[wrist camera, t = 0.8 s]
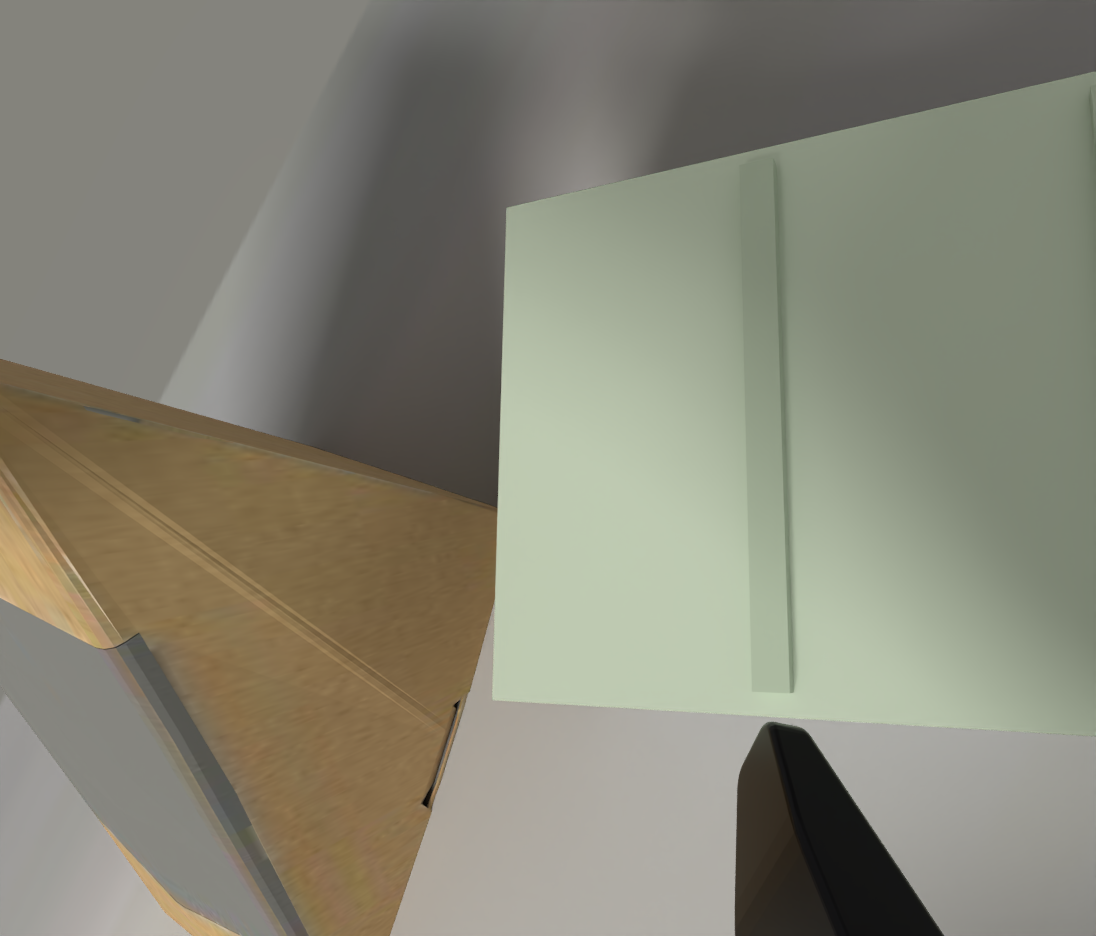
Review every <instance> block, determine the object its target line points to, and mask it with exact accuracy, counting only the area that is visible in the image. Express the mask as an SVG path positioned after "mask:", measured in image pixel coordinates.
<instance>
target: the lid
mask: <svg viewBox="0 0 1096 936" xmlns="http://www.w3.org/2000/svg"><path fill="white" fill-rule="evenodd" d="M492 700H498V701H515V702H531V703H548V704H565V705H581V706H598V707H614V708H631V709H648V710H664V711H681V712H698V713H714V714H731V715H747V716H764V717H781V718H797V719H814V720H831V721H847V722H864V723H880V724H897V725H914V726H930V727H947V728H964V729H980V730H997V731H1013V732H1030V733H1047V734H1063V735H1080V736H1096V71H1094V72H1090V73H1086V74H1081V75H1077V76H1073V77H1068V78H1064V79H1060V80H1055V81H1051V82H1047V83H1043V84H1038V85H1034V86H1030V87H1025V88H1021V89H1017V90H1012V91H1008V92H1004V93H999V94H995V95H991V96H986V97H982V98H978V99H973V100H969V101H965V102H960V103H956V104H952V105H947V106H943V107H939V108H935V109H930V110H926V111H922V112H917V113H913V114H909V115H904V116H900V117H896V118H891V119H887V120H883V121H878V122H874V123H870V124H865V125H861V126H857V127H852V128H848V129H844V130H839V131H835V132H831V133H827V134H822V135H818V136H814V137H809V138H805V139H801V140H796V141H792V142H788V143H783V144H779V145H775V146H770V147H766V148H762V149H757V150H753V151H749V152H744V153H740V154H736V155H731V156H727V157H723V158H719V159H714V160H710V161H706V162H701V163H697V164H693V165H688V166H684V167H680V168H675V169H671V170H667V171H662V172H658V173H654V174H649V175H645V176H641V177H636V178H632V179H628V180H623V181H619V182H615V183H611V184H606V185H602V186H598V187H593V188H589V189H585V190H580V191H576V192H572V193H567V194H563V195H559V196H554V197H550V198H546V199H541V200H537V201H533V202H528V203H524V204H520V205H515V206H511V207H507V208H506V241H505V275H504V309H503V343H502V378H501V412H500V446H499V480H498V515H497V549H496V583H495V617H494V652H493V686H492Z"/></svg>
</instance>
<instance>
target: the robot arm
mask: <svg viewBox="0 0 1096 936" xmlns="http://www.w3.org/2000/svg"><path fill="white" fill-rule="evenodd" d="M735 936H944V935H943V933H942V932H941V930H940V929H939V927H938V926H937V924H936V923H935V921H934V920H933V918H932V917H931V915H930V914H929V912H928V911H927V909H926V908H925V906H924V905H923V903H922V902H921V900H920V899H919V897H918V896H917V894H916V893H915V891H914V890H913V888H912V887H911V885H910V884H909V882H908V881H907V879H906V878H905V876H904V875H903V873H902V872H901V870H900V869H899V867H898V866H897V864H896V863H895V861H894V860H893V858H892V857H891V855H890V854H889V852H888V851H887V849H886V848H885V847H884V845H883V844H882V842H881V841H880V839H879V838H878V836H877V835H876V833H875V832H874V830H873V829H872V827H871V826H870V824H869V823H868V821H867V820H866V818H865V817H864V815H863V814H862V812H861V811H860V809H859V808H858V806H857V805H856V803H855V802H854V800H853V799H852V797H851V796H850V794H849V793H848V791H847V790H846V788H845V787H844V785H843V784H842V782H841V781H840V779H839V778H838V776H837V775H836V773H835V772H834V770H833V769H832V767H831V766H830V764H829V763H828V761H827V760H826V758H825V757H824V755H823V754H822V752H821V751H820V749H819V748H818V746H817V745H816V743H815V742H814V740H813V739H812V737H811V736H810V735H809V733H808V732H806V731H805V730H804V729H803V728H800V727H797V726H792V725H787V724H782V723H777V722H768V723H766V724H765V725H763V727H762V728H761V730H760V732H759V733H758V735H757V737H756V739H755V741H754V743H753V745H752V747H751V749H750V751H749V753H748V755H747V757H746V759H745V761H744V763H743V765H742V768H741V771H740V774H739V779H738V788H737V830H736V876H735Z"/></svg>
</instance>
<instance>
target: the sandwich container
mask: <svg viewBox="0 0 1096 936" xmlns="http://www.w3.org/2000/svg"><path fill="white" fill-rule="evenodd" d="M497 515H498V508H497V507H494V506H491V505H488V504H485V503H482V502H479V501H476V500H473V499H470V498H467V497H464V496H461V495H458V494H455V493H452V492H449V491H446V490H443V489H440V488H437V487H434V486H431V485H428V484H425V483H422V482H419V481H416V480H413V479H410V478H407V477H404V476H401V475H398V474H395V473H391V472H388V471H385V470H382V469H379V468H376V467H373V466H370V465H367V464H364V463H361V462H357V461H354V460H351V459H348V458H345V457H342V456H339V455H336V454H333V453H330V452H327V451H324V450H320V449H317V448H314V447H311V446H308V445H304V444H301V443H297V442H294V441H290V440H287V439H283V438H280V437H276V436H272V435H269V434H265V433H262V432H258V431H255V430H251V429H248V428H244V427H241V426H237V425H234V424H230V423H227V422H223V421H220V420H216V419H213V418H209V417H206V416H202V415H198V414H195V413H191V412H188V411H184V410H181V409H177V408H174V407H170V406H166V405H163V404H159V403H156V402H152V401H149V400H145V399H141V398H138V397H134V396H131V395H127V394H123V393H120V392H117V391H113V390H110V389H106V388H102V387H99V386H95V385H92V384H88V383H85V382H81V381H77V380H74V379H70V378H67V377H63V376H60V375H56V374H52V373H49V372H45V371H42V370H38V369H35V368H31V367H27V366H24V365H21V364H17V363H13V362H10V361H6V360H3V359H0V687H1V688H2V690H3V691H4V692H5V694H6V695H7V696H8V698H9V699H10V700H11V702H12V703H13V704H14V706H15V707H16V708H17V710H18V711H19V712H20V714H21V715H22V716H23V718H24V719H25V720H26V722H27V723H28V724H29V726H30V727H31V728H32V730H33V731H34V732H35V734H36V735H37V737H38V738H39V739H40V741H41V742H42V743H43V745H44V746H45V747H46V749H47V750H48V751H49V753H50V754H51V755H52V757H53V758H54V760H55V761H56V762H57V764H58V765H59V766H60V768H61V769H62V770H63V772H64V773H65V774H66V776H67V777H68V779H69V780H70V781H71V783H72V784H73V785H74V787H75V788H76V789H77V791H78V792H79V793H80V795H81V796H82V798H83V799H84V800H85V802H86V803H87V804H88V806H89V807H90V808H91V810H92V811H93V812H94V814H95V815H96V816H97V818H98V819H99V821H100V822H101V823H102V825H103V826H104V828H105V829H106V830H107V832H108V833H109V835H110V836H111V837H112V839H113V840H114V842H115V843H116V844H117V846H118V847H119V849H120V850H121V851H122V853H123V854H124V856H125V857H126V858H127V860H128V861H129V863H130V864H131V865H132V867H133V868H134V870H135V871H136V872H137V874H138V875H139V877H140V878H141V879H142V881H143V882H144V884H145V885H146V886H147V888H148V889H149V891H150V892H151V893H152V895H153V896H154V898H155V899H156V901H157V902H158V903H159V905H160V906H161V908H162V909H163V910H164V912H165V913H166V914H167V915H169V916H170V917H171V918H172V919H173V920H175V921H176V922H177V923H178V924H179V925H180V926H182V927H183V928H184V929H185V930H186V931H187V932H189V933H190V934H191V935H192V936H390V933H391V930H392V927H393V924H394V921H395V918H396V915H397V912H398V909H399V906H400V903H401V900H402V897H403V895H404V892H405V889H406V886H407V883H408V880H409V877H410V874H411V871H412V868H413V865H414V862H415V859H416V856H417V853H418V850H419V848H420V845H421V842H422V839H423V836H424V833H425V830H426V827H427V824H428V821H429V818H430V815H431V812H432V810H431V808H432V804H433V801H434V798H435V795H436V793H437V790H438V788H439V785H440V782H441V779H442V776H443V773H444V769H445V766H446V763H447V760H448V756H449V753H450V750H451V747H452V744H453V741H454V737H455V734H456V731H457V728H458V725H459V722H460V718H461V715H462V712H463V709H464V706H465V702H466V698H467V694H468V692H470V688H471V685H472V681H473V677H474V674H475V670H476V666H477V663H478V659H479V655H480V652H481V648H482V644H483V641H484V637H485V633H486V630H487V626H488V622H489V619H490V615H491V611H492V608H493V604H494V600H495V583H496V549H497ZM460 699H461V701H460V705H459V709H458V713H457V717H456V721H455V725H454V728H453V731H452V734H451V738H450V741H449V744H448V747H447V750H446V753H445V757H444V760H443V763H442V766H441V769H440V773H439V776H438V779H437V782H436V785H435V787H434V790H433V792H432V795H431V797H430V800H429V803H428V805H427V807H425V806H424V805H423V802H424V799H425V796H426V794H427V793H428V791H429V789H430V788H431V786H432V784H433V783H434V780H435V777H436V773H437V770H438V767H439V764H440V761H441V757H442V754H443V751H444V748H445V745H446V742H447V738H448V735H449V732H450V729H451V726H452V722H453V719H454V716H455V713H456V710H457V709H456V708H455V707H454V705H455V703H456V702H458V701H459V700H460Z"/></svg>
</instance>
